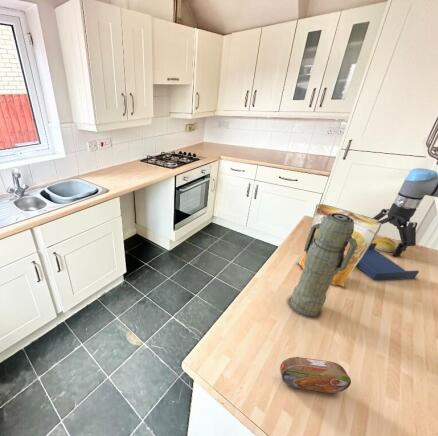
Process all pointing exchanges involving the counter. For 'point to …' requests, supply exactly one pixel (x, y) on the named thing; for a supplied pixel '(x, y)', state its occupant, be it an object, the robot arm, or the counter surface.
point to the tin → (314, 375)
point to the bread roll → (385, 244)
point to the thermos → (323, 262)
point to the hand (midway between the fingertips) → (382, 246)
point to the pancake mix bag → (362, 234)
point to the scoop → (382, 266)
